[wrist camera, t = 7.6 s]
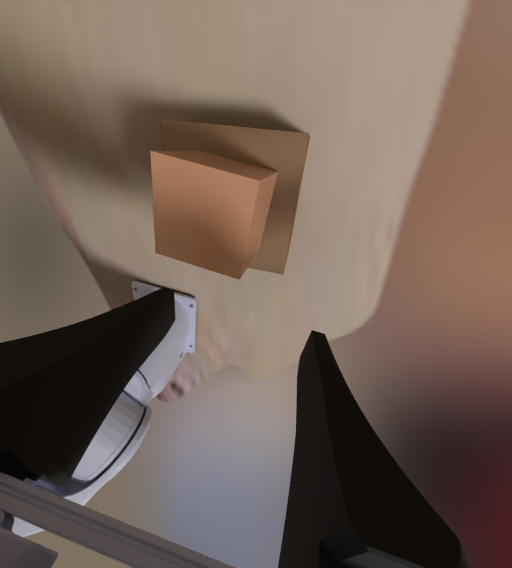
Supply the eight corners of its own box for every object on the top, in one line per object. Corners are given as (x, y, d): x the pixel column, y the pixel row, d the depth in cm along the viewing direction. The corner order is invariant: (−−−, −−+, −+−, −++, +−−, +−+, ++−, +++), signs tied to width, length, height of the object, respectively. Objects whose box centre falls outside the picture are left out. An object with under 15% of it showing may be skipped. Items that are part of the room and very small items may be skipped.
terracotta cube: (260, 246, 16) (239, 279, 12) (196, 227, 16) (155, 252, 12) (277, 171, 13) (259, 180, 9) (201, 151, 14) (150, 150, 9)
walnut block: (288, 253, 20) (282, 274, 17) (197, 237, 21) (175, 253, 18) (310, 136, 15) (308, 133, 12) (190, 124, 17) (159, 118, 13)
